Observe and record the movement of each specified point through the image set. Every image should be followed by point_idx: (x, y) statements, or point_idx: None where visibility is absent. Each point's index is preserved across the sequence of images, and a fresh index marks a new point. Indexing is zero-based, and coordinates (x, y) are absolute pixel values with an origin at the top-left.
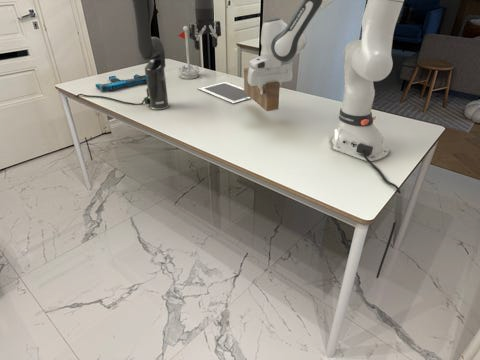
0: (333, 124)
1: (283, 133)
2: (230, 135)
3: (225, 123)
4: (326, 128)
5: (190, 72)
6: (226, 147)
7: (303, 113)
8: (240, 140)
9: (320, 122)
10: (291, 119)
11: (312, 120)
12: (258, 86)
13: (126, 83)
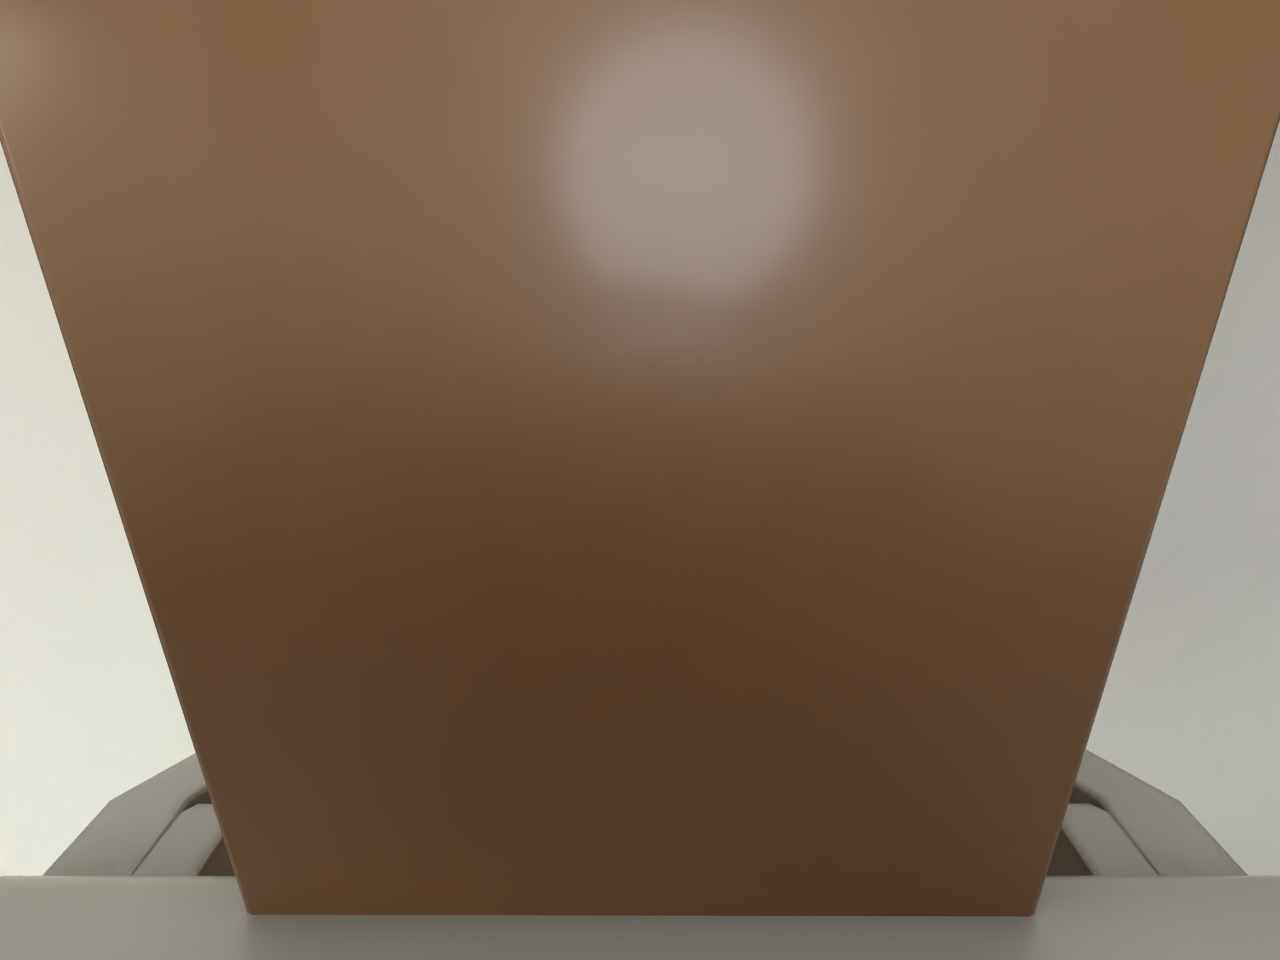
0: (1277, 712)
1: None
2: (80, 588)
3: (22, 228)
4: (1131, 760)
5: None
6: (29, 786)
7: (1266, 307)
8: (181, 715)
9: (1204, 629)
10: None
11: (1173, 554)
12: (132, 830)
13: None
